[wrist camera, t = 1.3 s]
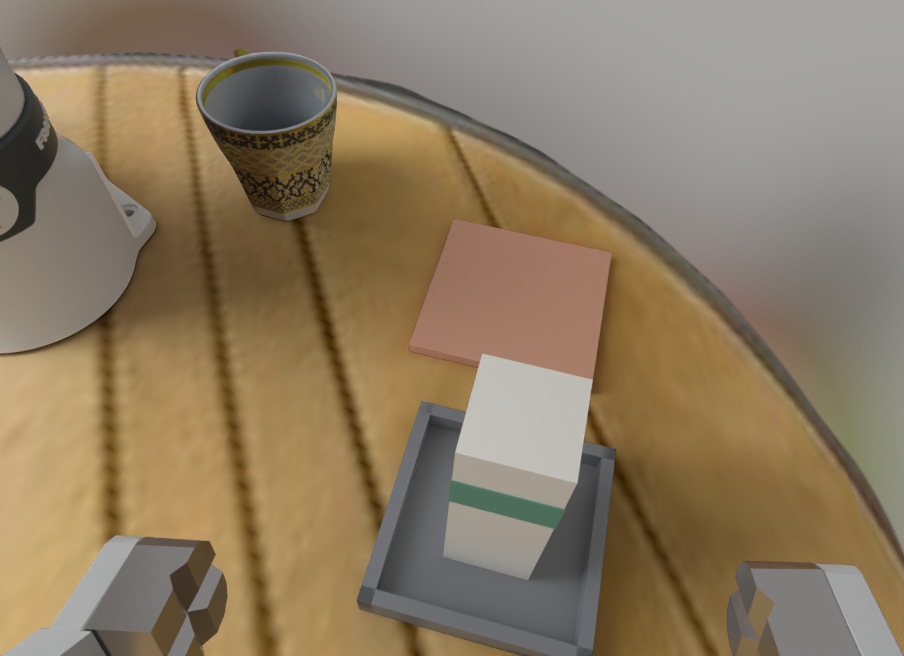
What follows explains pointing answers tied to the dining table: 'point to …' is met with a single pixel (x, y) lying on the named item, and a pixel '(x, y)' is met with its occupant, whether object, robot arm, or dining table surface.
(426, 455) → the parts tray
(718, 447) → the dining table surface
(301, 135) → the ceramic cup
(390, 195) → the dining table surface
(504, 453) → the labelled box
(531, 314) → the mat
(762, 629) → the robot arm
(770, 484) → the dining table surface
